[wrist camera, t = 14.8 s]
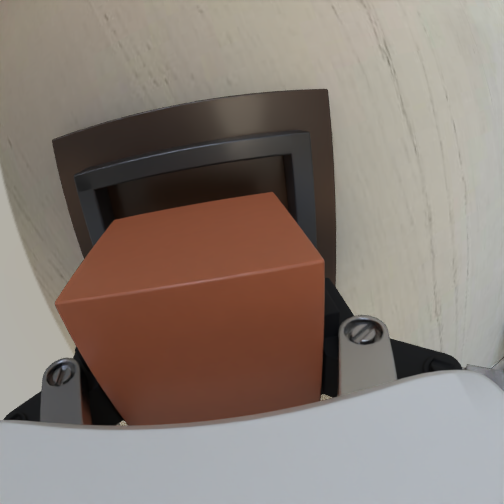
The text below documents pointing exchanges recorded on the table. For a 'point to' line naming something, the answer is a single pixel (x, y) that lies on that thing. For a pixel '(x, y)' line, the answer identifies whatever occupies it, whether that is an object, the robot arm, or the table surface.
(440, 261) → the table surface
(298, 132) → the dark brown shallow tray
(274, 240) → the orange brown block
